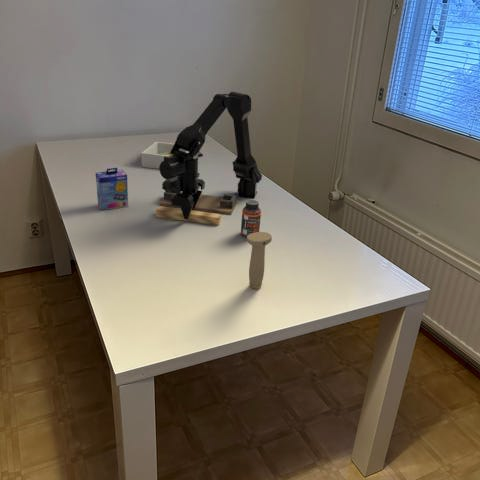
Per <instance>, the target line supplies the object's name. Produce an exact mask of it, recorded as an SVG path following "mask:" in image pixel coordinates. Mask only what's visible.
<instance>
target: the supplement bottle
mask: <svg viewBox="0 0 480 480" xmlns="http://www.w3.org/2000/svg"><path fill="white" fill-rule="evenodd" d="M259 206H260V202H259V201H258V200H255V199H249V200H246V202H245V206H243V208H242V212H241V224H240V225H241V226H240V235H242V236H243V237H245V238H247V236H248V235H249V234H251V233H255V232H260V225H261V218H262V216H261V215H262V210H261V208H260V207H259Z"/></svg>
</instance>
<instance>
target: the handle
mask: <svg viewBox="0 0 480 480" xmlns="http://www.w3.org/2000/svg"><path fill="white" fill-rule="evenodd" d="M272 238H273V237H272V234H270V233H269V232H268V231H267V232H266V231H259V232H255V233H251V234H249V235H248V236H247V237H246V243H247V244H249V245H250V246H251V251H250V252H251V254H250V259H249V268H248V281H249V282H248V284H249V285H248V286H249V287H250V288H251V289H252V290H255V289H256V290H259V289H260V288H261V287H262V285H263V281H264V275H265V263H266V262H265V261H266V260H265V257H266V255H265V254H266V246H267V245H269V244H270V243H271V242H272V240H273V239H272Z"/></svg>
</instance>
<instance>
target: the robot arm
mask: <svg viewBox="0 0 480 480" xmlns="http://www.w3.org/2000/svg"><path fill="white" fill-rule="evenodd" d="M251 97H252V96H250V95H248V94H247V93H242V92H237V91H230V92H229V93H217V94H214V95H213V97H212V100H211V102H210V103H209V104H208V105H207V107H206V108H205V109H204V110H203V112H202V113H201V114H200V115H199V117H198V118H197V119H196V120H195V122H193V124H191V125H189V126H186V127H185V128H183V130H182V131H180V132H179V134H177V137H176V138H175V139H176V140H175V142H174V143H173V144H174V146H173V148H172V150H171V152H170V154H172V156H166V157H164V161H162V162H161V164H160V166H159V169H158V170H159V174H160V176H161V177H162V178H163V179H165V180H164V181H162V184H161V185H162V187H161V189H162V190H164V192H169V191H171V190H176V189H177V191H179V192H182V193H177V194H175V195H174V197H173V198H172V199H171V204H172V205H174V206H180V207H181V208H180V209H181V210H182V213H183V216H184V219H188V218H189V215H190V213H191V210H192V211H195V210H194V208H195V206H196V204H197V202H198V200H199V198H200V195H201V194H203V190H204V189H205V188H206V182H205V181H204V179H203V178H201V179H200V178H199V177H200V173H199V158H202V157H203V156H204V154H203V153H202V152H201V151H200V150H202V147H203V146H204V144H205V142H206V135H207V133H208V132H209V131H210V130H211V128H212V127H213V125H214V124H215V123H216V122H217V121H218V120H219V118H220V117H221V115H222V114H223V113H224V111H225V110H226V109H227V113H228V114H229V116H230V117H231V118H232V120H233V128H234V129H233V130H234V136H235V137H234V138H235V146H236V154H237V156H236V158H235V160H233V161H232V167H233V169H232V171H233V172H234V175H235V178H236V179H239V181H238V182H237V197H241V198H249V199H255V198H256V195H257V194H258V191H257V187H258V184H259V183H260V181H262V178H263V174H262V173H261V172H260V171H259V170H260V169H258V165H257V161H256V159H255V158H254V156H253V155H252V150H251V140H250V139H251V138H250V132H249V131H250V130H249V122H248V121H249V119H248V117H249V115H250V114H251V111H252V98H251ZM179 149H182V150H185V151H188V153H186V152H183V151H180V150H179ZM199 189H200V190H199Z"/></svg>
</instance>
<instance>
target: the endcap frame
mask: <svg viewBox="0 0 480 480" xmlns="http://www.w3.org/2000/svg"><path fill="white" fill-rule="evenodd" d="M177 193H182V191H181V192H179V191H177V189H176V190H171V191H169V192H165V191H164V192H163V199H161V201H160V202H159V206H163V207H170V208H178V209H181V207H180V206H174V205H172V204H171V199H172V198H173V197H174V195H175V194H177ZM238 203H239V199H238V198H237V195H234V194H227V193H226V194H223V195H222V196H216V195H215V196H214V195H208V194H203V193H201V195H200V198H199V200H198V202H197V204H196V206H195V208H194V211H200V212H207V213H214V214H222V215H223V214H225V215H232V214H233V213H234V210H235V208H236V206H237V205H238Z"/></svg>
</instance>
